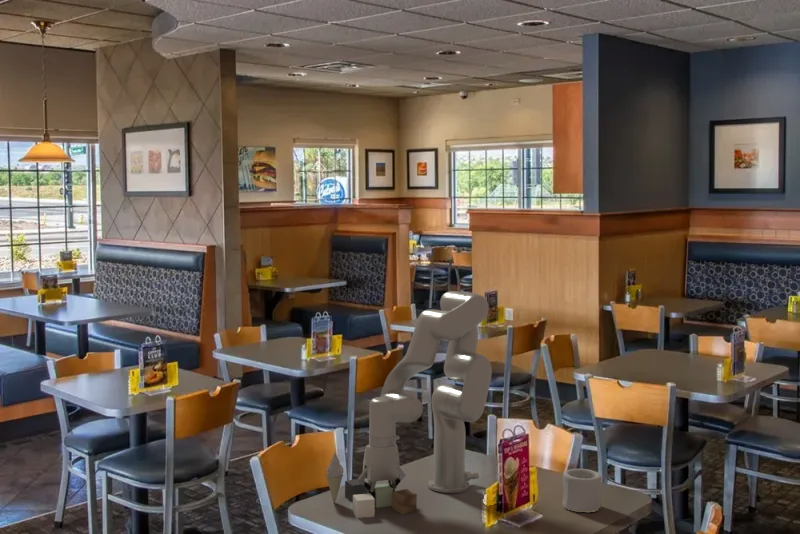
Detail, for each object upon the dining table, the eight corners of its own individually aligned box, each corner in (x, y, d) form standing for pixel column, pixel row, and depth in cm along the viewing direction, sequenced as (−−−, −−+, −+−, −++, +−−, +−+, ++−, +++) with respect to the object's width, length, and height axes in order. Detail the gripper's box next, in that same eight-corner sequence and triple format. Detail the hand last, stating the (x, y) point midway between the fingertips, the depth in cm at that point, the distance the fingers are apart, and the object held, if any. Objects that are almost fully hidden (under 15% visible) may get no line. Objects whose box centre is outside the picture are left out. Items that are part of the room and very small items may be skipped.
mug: (608, 510, 254) (609, 475, 253) (580, 516, 248) (581, 481, 248) (576, 496, 266) (577, 463, 265) (548, 502, 260) (549, 468, 259)
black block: (360, 495, 264) (360, 478, 264) (367, 500, 260) (368, 483, 259) (344, 497, 262) (345, 480, 261) (352, 502, 257) (352, 485, 257)
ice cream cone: (340, 506, 254) (340, 454, 253) (323, 504, 255) (323, 453, 254) (345, 500, 259) (345, 449, 258) (328, 499, 260) (328, 448, 259)
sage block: (385, 500, 260) (386, 483, 259) (392, 505, 255) (393, 488, 255) (370, 502, 258) (370, 485, 257) (376, 507, 253) (376, 490, 253)
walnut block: (406, 506, 255) (406, 488, 255) (416, 511, 251) (416, 493, 251) (391, 509, 252) (392, 491, 252) (401, 514, 248) (402, 496, 248)
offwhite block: (369, 510, 251) (370, 493, 250) (374, 516, 246) (374, 499, 246) (352, 512, 249) (352, 494, 249) (356, 518, 245) (357, 500, 244)
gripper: (403, 434, 262) (402, 495, 263) (349, 440, 255) (349, 502, 256) (414, 441, 255) (413, 503, 257) (359, 447, 248) (358, 510, 249)
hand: (381, 502), depth 256 cm, fingers closed on sage block, 5 cm apart
